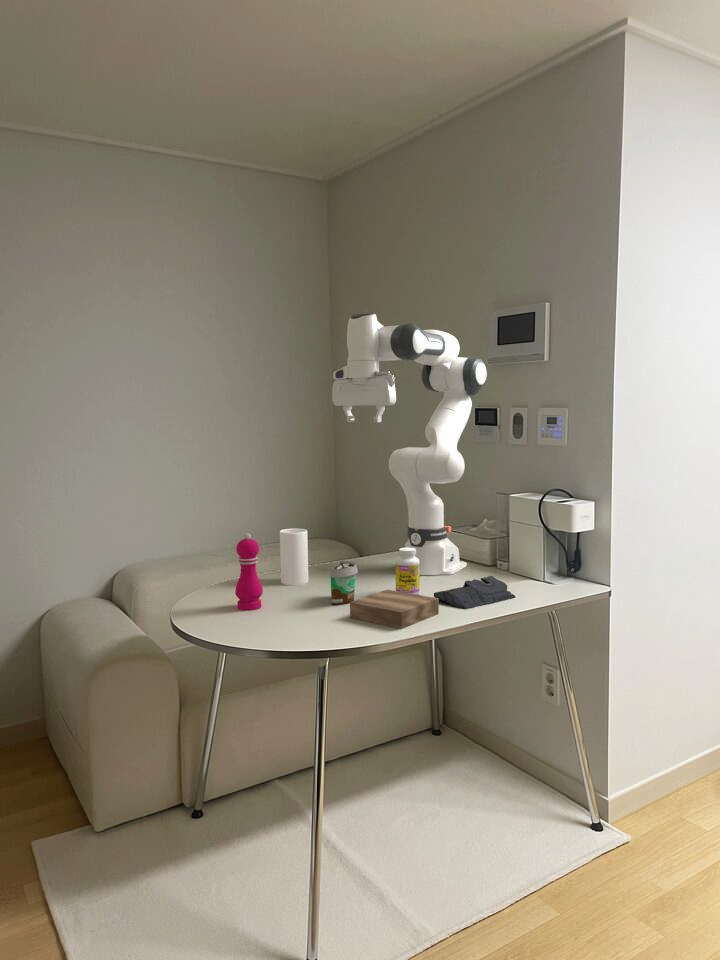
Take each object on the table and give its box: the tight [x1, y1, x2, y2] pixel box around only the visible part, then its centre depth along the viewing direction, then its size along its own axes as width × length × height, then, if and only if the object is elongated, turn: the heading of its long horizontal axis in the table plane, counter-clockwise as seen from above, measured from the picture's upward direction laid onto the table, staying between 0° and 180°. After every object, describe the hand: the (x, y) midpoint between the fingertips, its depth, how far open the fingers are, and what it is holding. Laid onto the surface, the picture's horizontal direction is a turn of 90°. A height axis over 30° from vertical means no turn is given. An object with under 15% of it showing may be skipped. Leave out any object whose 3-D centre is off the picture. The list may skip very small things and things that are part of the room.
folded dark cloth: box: [433, 575, 516, 610], centre depth 212 cm, size 15×22×5 cm
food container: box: [329, 560, 359, 606], centre depth 210 cm, size 12×6×10 cm, turn 168°
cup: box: [279, 527, 309, 586], centre depth 231 cm, size 8×8×16 cm
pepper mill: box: [234, 532, 264, 611], centre depth 204 cm, size 7×7×20 cm
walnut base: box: [349, 589, 440, 630], centre depth 195 cm, size 16×16×4 cm
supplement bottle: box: [395, 547, 420, 595], centre depth 216 cm, size 7×7×13 cm
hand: (364, 422), depth 215 cm, fingers open, 8 cm apart
